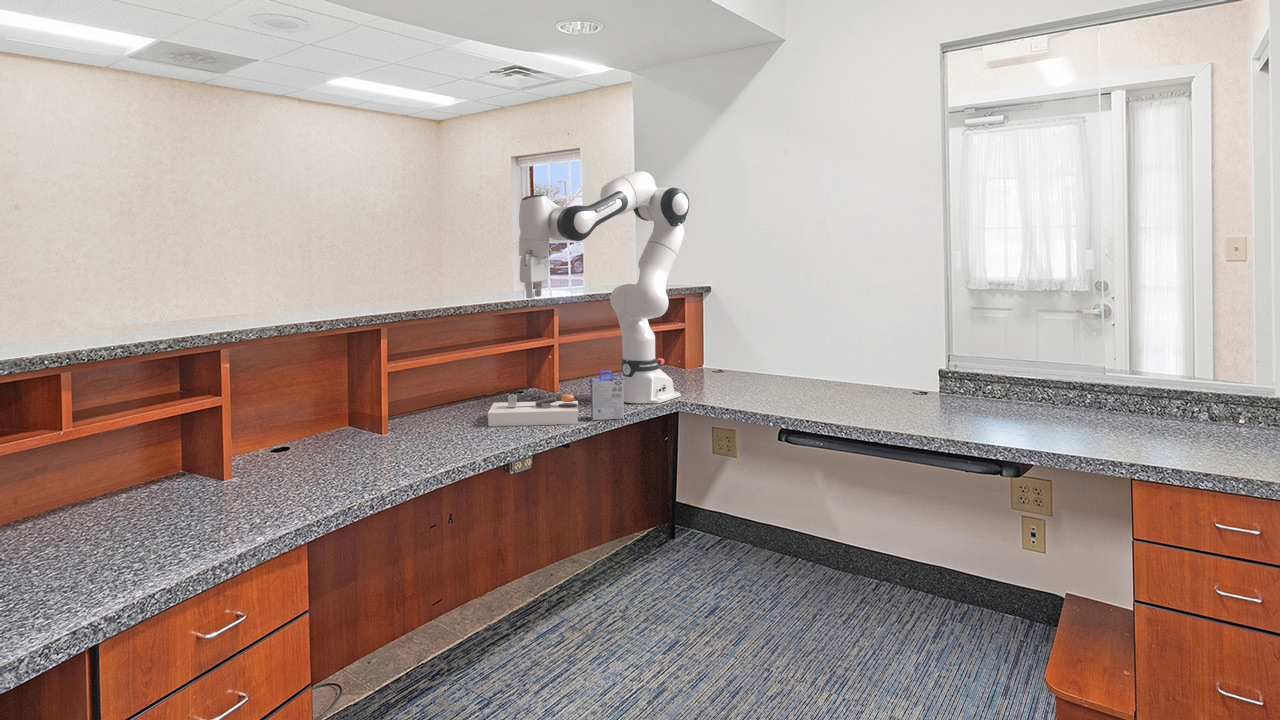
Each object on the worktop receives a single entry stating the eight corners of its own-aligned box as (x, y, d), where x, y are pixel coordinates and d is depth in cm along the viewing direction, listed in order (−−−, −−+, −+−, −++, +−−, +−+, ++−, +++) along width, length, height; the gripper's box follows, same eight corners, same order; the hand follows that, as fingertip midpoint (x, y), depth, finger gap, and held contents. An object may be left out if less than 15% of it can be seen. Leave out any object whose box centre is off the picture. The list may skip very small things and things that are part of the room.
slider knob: (517, 404, 219) (516, 393, 219) (516, 407, 215) (515, 395, 215) (509, 404, 219) (508, 393, 218) (508, 407, 215) (507, 396, 215)
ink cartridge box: (621, 414, 224) (621, 368, 221) (625, 419, 218) (624, 372, 216) (589, 416, 222) (589, 370, 219) (592, 420, 216) (591, 373, 214)
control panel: (578, 413, 226) (577, 396, 225) (577, 424, 212) (577, 405, 212) (494, 415, 224) (493, 397, 223) (488, 426, 211) (487, 407, 210)
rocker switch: (556, 399, 220) (555, 396, 220) (555, 402, 216) (555, 398, 216) (537, 404, 219) (536, 400, 219) (536, 406, 216) (535, 403, 216)
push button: (574, 399, 220) (574, 394, 220) (574, 401, 216) (574, 396, 216) (561, 399, 220) (561, 394, 220) (560, 402, 216) (560, 397, 216)
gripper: (535, 250, 202) (535, 299, 204) (552, 251, 223) (552, 295, 224) (514, 249, 203) (514, 298, 205) (532, 250, 223) (532, 295, 225)
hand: (534, 297), depth 215 cm, fingers open, 8 cm apart
